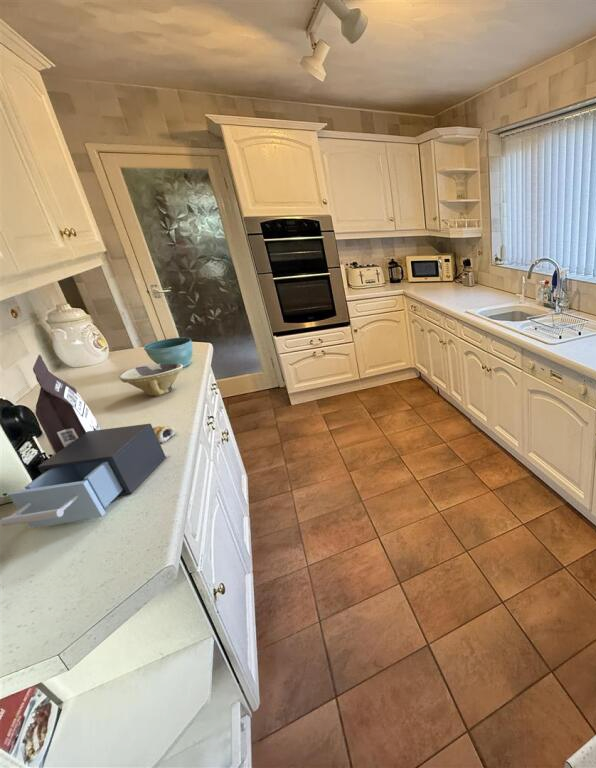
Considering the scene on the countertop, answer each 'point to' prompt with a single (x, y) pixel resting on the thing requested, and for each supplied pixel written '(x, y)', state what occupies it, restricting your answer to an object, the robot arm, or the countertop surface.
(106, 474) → the light blue drawer
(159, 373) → the bowl
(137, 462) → the drawer cabinet
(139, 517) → the countertop surface
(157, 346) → the teal blue bowl
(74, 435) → the protein powder
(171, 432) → the pastry
